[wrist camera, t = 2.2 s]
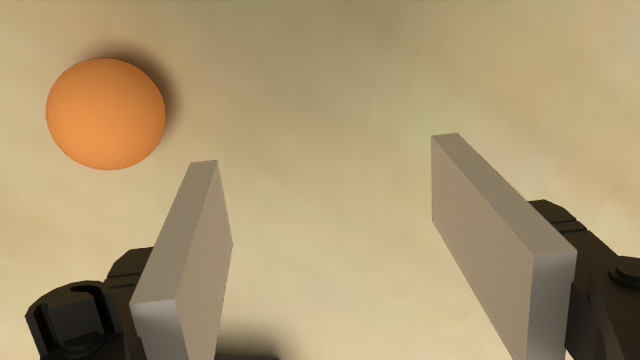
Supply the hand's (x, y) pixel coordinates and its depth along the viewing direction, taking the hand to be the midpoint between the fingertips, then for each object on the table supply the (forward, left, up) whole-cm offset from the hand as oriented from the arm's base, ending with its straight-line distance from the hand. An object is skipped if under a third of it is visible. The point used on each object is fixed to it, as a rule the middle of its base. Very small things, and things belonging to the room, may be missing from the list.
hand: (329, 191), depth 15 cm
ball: (+10, 0, -12) cm, 16 cm away
